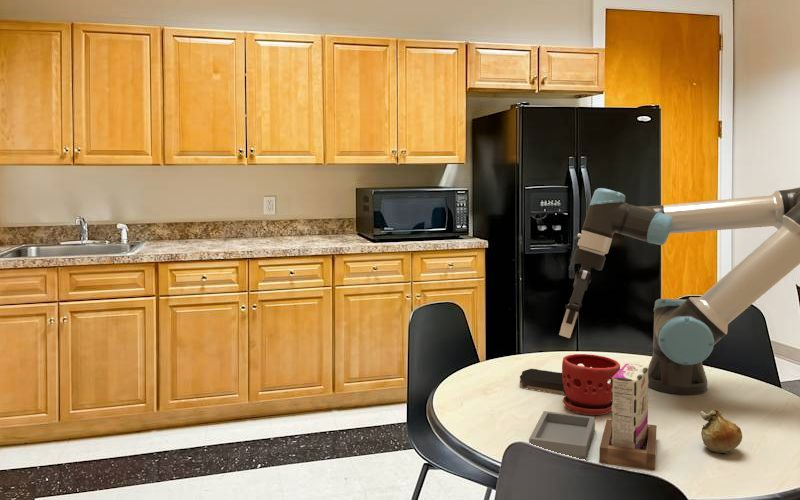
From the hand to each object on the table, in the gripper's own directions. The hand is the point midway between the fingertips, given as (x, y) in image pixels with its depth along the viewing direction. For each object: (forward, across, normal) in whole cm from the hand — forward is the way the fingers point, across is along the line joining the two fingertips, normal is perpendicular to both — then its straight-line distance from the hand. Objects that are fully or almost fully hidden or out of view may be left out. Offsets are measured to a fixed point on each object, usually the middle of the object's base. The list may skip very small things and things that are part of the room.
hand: (565, 333), depth 167 cm
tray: (+18, +28, +6) cm, 34 cm away
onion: (+10, +25, +35) cm, 44 cm away
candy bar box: (+15, +29, +18) cm, 38 cm away
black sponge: (+16, -8, +1) cm, 18 cm away
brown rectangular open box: (+15, +29, +18) cm, 38 cm away
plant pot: (+15, +6, +11) cm, 19 cm away
